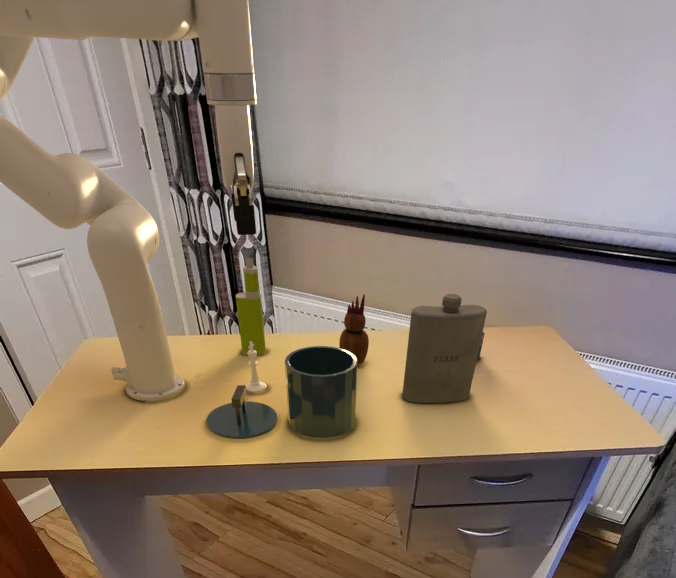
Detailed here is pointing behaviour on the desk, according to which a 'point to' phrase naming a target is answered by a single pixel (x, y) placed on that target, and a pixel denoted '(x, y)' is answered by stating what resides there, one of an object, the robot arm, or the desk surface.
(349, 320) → the wooden figurine
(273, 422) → the lid
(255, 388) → the chess piece
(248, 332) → the vape
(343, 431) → the pot
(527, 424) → the desk surface
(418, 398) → the flask
